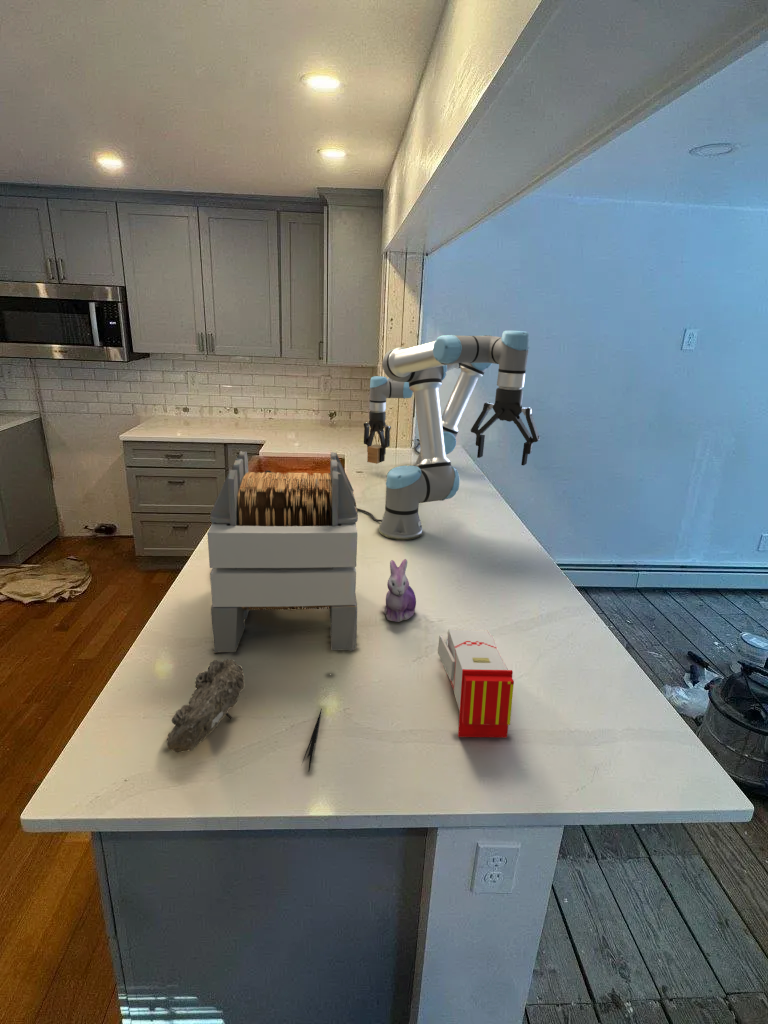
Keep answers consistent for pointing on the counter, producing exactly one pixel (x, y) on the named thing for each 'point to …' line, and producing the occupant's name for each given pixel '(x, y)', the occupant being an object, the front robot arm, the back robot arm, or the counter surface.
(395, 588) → the figurine
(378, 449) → the brown block
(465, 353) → the front robot arm
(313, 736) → the feather
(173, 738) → the fossil
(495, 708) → the toy
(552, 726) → the counter surface
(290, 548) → the record storage crate
